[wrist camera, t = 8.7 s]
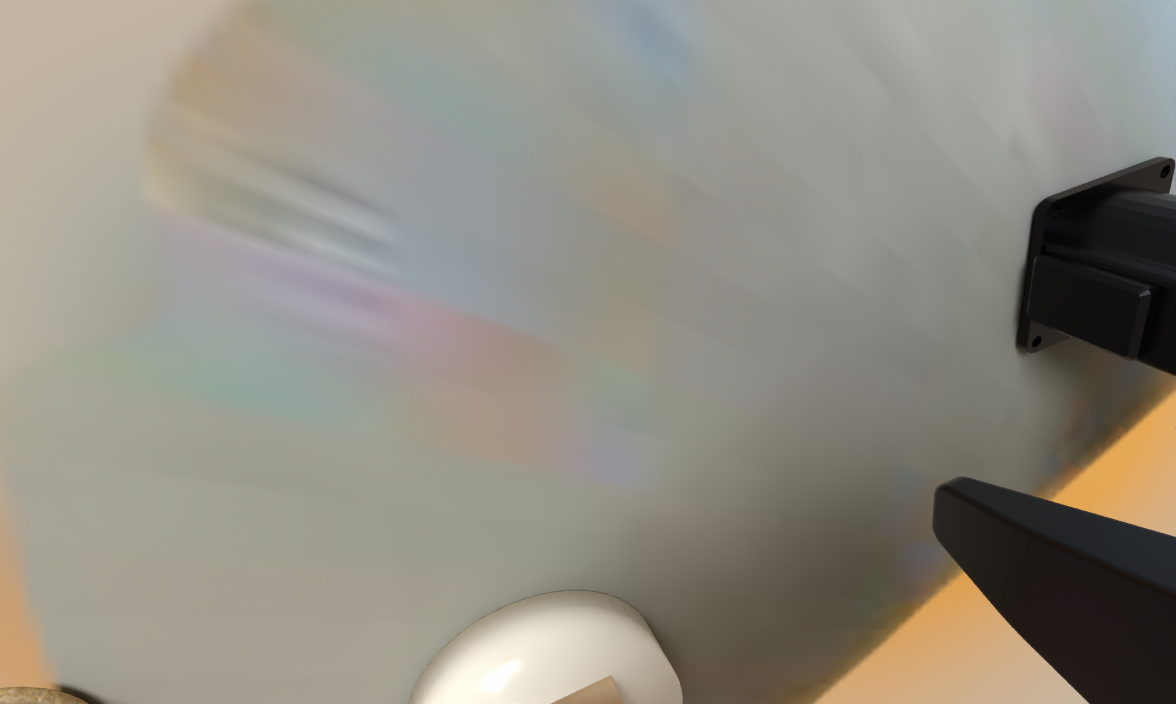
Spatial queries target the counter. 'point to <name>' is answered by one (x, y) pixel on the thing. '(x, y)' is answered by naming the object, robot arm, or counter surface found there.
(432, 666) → the ceramic stand
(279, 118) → the counter surface
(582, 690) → the beech cube
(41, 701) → the sprinkles bottle
